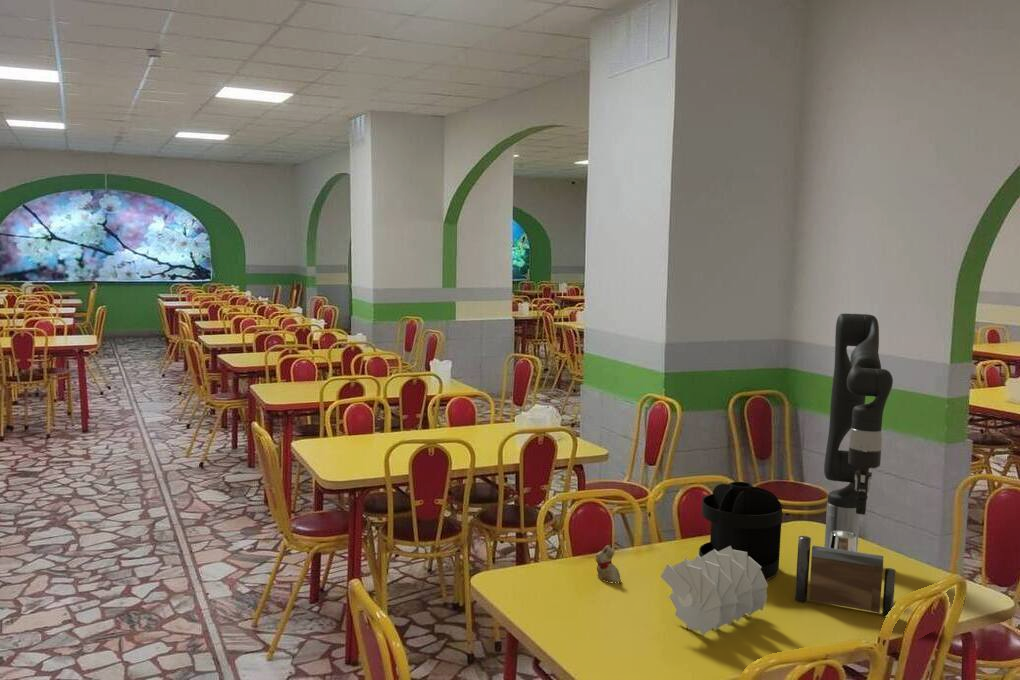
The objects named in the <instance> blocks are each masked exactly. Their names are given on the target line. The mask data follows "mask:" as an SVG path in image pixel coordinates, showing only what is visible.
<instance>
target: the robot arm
mask: <svg viewBox="0 0 1020 680" xmlns="http://www.w3.org/2000/svg"><path fill="white" fill-rule="evenodd" d="M834 339H835V340H834V341H835V343H834V344H835V345H834V346H835V347H834V367H833V369H834V371H833V378H832V387H831V394H830V409H829V411H830V412H829V428H828V435H827V441H826V442H827V443H826V448H825V457H824V464H823V465H824V466H823V471H824V472H823V473H824V476H825V478H826V479H827V480H828V481H833V482H841V483H849V484H848V485H846V486H844V487H841V488H839V489H836V490H832V491H830V492H828V494H827V497H826V498H827V501H826V518H825V519H826V520H825V530H824V531H825V532H824V546H823V547H827V548H829V542H830V536H831V532H832V531H835V530H842V531H848V532H852V533H854V534H856V552H858V548H859V547H858V546H859V532H860V516H861V515H862V516H863V515H866V512H867V511H866V510H867V500H868V498H869V497H868V493H869V492H870V490H871V489H870V488H871V483H872V477H873V475H872V474H873V471H872V472H870V471H869V470H870V469H877V468H880V466H881V459H882V456H881V455H882V443H883V441H882V440H883V439H882V438H883V437H882V436H883V435H882V427H883V415H884V411H885V406H886V404H887V401H888V398H889V395H890V393H891V391H892V388H893V384H894V378H893V375H892V374H891V372H890V371H889V370H887V369H884V368H882V364H881V363H882V362H881V361H880V355H879V350H880V349H879V348H880V326H879V321H878V319H877V317H876V316H874V315H873V314H867V313H840V314H839V315H838V317H837V319H836V323H835V338H834ZM848 347H854V348H853V350H852V352H851V354H850V357H849V354H848V350H847V348H848ZM866 397H874V399H873V401H871V402H870V403H866ZM849 432H850V434H849V444H848V445H849V446H848V450H843V449H842V450H840V449H839V448H840V446H841V445H842V444H841V443H842V441H843V440H844V438H845V436H846V435H847V434H848V433H849Z"/></svg>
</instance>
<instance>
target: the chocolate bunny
mask: <svg viewBox="0 0 1020 680" xmlns="http://www.w3.org/2000/svg"><path fill="white" fill-rule="evenodd" d="M614 555H615V550H614V549H613V548H612V547H611V545H610V544H608V545H605V546H604V548H603V549H602V550H600V551H599V552H597V553H596V555H595V562H596V563H597V566H596V572H597V574H596V576H598V577H599V578H600V579H602V580H605V581H608V582H613V583H614V584H615V582H616V583H618V582H619V583H620V582H621V583H622V581H621V580H622V579H621V575H620V574H621V573H620V571H619V569H618V567H616V565H614V564H613V563H612V559H613V556H614ZM598 577H597V578H598ZM599 578H598V579H599ZM600 579H599V580H600ZM602 580H601V581H602ZM605 581H604V582H605ZM608 582H607V583H608ZM613 583H612V584H613ZM621 583H620V584H621Z"/></svg>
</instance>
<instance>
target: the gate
mask: <svg viewBox="0 0 1020 680" xmlns="http://www.w3.org/2000/svg"><path fill="white" fill-rule="evenodd" d="M810 556H811V557H810V559H811V560H810V572H809V573H810V575H809V577H810V578H809V589H808V601H811V602H816V603H821V604H822V603H823V604H826V605H827V604H828V605H832V606H833V605H835V606H840V607H843V608H844V607H845V608H852V609H857V610H862V611H867V612H872V613H878V614H879V613H880V612H881V599H882V586H883V573H884V569H883V568H884V555H881V554H880V555H879V554H873V553H867V552H861V551H857V552H854V551H847V550H840V549H834V548H827V547H824V546H820V545H812V547H811V554H810Z"/></svg>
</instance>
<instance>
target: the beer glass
mask: <svg viewBox="0 0 1020 680" xmlns="http://www.w3.org/2000/svg"><path fill="white" fill-rule="evenodd" d="M829 548H834V549H840V550H847V551H854V552H856V534H854V533H852V532H848V531H842V530H835V531H832V532H831V536H830V542H829Z"/></svg>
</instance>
